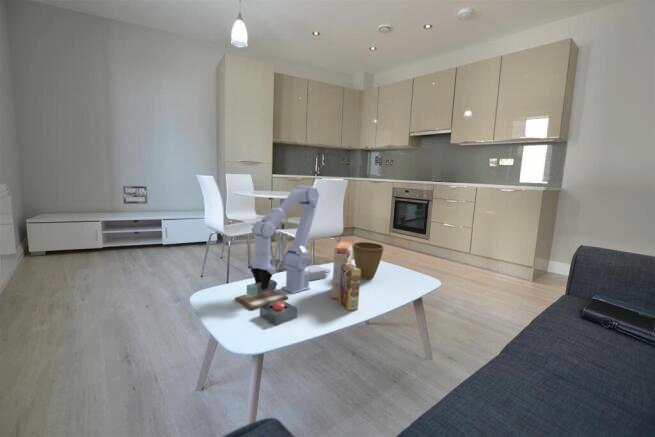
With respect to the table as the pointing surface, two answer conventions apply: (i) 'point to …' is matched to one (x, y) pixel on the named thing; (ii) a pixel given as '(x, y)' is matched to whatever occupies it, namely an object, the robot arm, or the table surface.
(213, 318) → the table surface
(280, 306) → the button
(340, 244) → the cracker box
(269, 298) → the wooden picture frame
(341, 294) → the candy box
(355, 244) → the plant pot
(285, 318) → the button housing
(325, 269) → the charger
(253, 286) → the marker
